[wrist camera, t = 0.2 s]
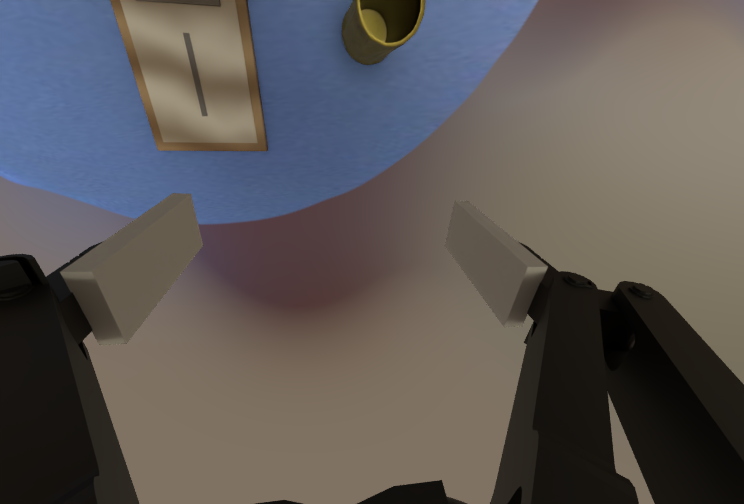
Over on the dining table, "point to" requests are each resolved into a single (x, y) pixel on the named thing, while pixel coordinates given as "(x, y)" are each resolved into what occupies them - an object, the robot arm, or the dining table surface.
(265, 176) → the dining table surface
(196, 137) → the drawing board
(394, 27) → the vase
